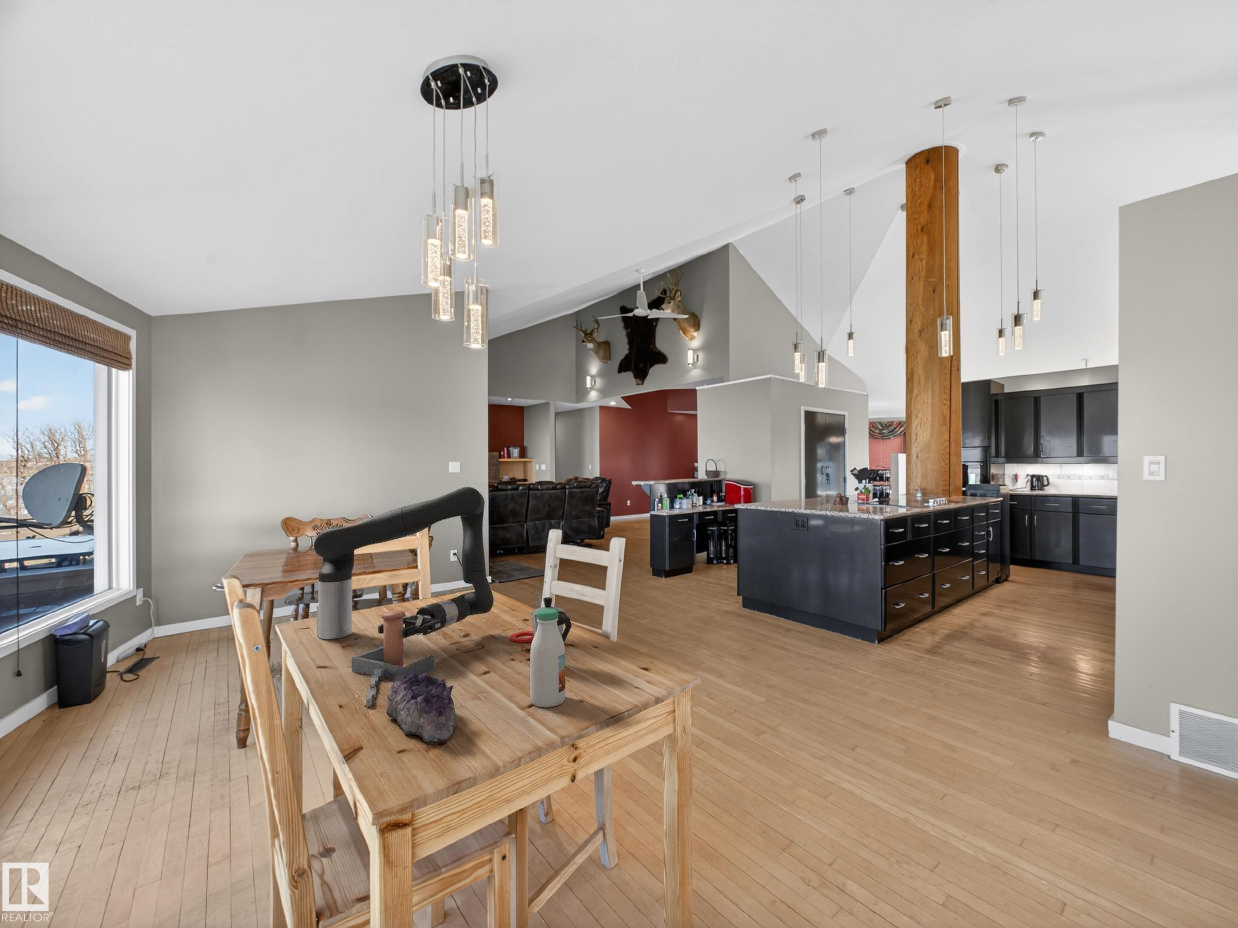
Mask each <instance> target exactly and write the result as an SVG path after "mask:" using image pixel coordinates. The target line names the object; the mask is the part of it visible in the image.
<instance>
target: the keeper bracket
mask: <svg viewBox="0 0 1238 928" xmlns="http://www.w3.org/2000/svg"><path fill="white" fill-rule="evenodd" d="M433 670H435V655H433V654H429V655H428V656H426V657H423V658H421V659H419V660H415V661H413V662H412V663H409V664H407V665H403V666H399V665H394V664H389V663H384V645H382V646H380V647H377V648H375V649H372V650H370V651H366V652H364V653H361V654H358V655H355V656H353V657H351V672H352V673H357V674H362V675H366V676H370V677H371V675H376V676H379V681H384V680H388V681H389V680H390V681H393V682H396V681H403V680H404V679H406V678H407V677H408V676H409V675H411V674H413V673H414V672H416V673H418V674H420V675H422V674H424V673H427V674H428V673H429V672H431V671H433Z"/></svg>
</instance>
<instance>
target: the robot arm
mask: <svg viewBox="0 0 1238 928" xmlns="http://www.w3.org/2000/svg"><path fill="white" fill-rule="evenodd" d="M485 505H486V503H485V498H484V496H483V494H482V493H481V492H480V491H479V490H478V489H476V488H475V487H472V486H464V487H461V488H458V489H455V490H453V491H451V492H448V493H446V494H444V495H441V496H438V497H436V498H431V499H428V500H423V501H420V502H416V503H413V504H408V505H404V506H400V507H398V508H394V509H391V510H389V511H388V510H387V511H386V512H383V513H381V514H378V515H375V516H373V517H370V518H369V519H366V520H363V521H361V522H358V523H355V524H352V525H351V524H350V525H348V526H347V525H346V526H334V527H331V528H329V529H325V530H323V531H322V532H320V533H319V534H318V535H317V536H316V538H315V540H314V542H313V550H314V552H315V554H316V555H318V556H319V557H321V558H322V564H321V567H320V569H319V572H318V574H317V575H318V603H317V604H316V636H317V637H318V638H319V639H322V640H335V639H341V638H345V637H348V636H350V635H351V634H352V633H353V578H352V577H353V569H354V565H355V551H356V550H359V549H361V548H364V547H368V546H370V545H376V544H381V543H387V542H391V541H395V540H399V539H402V538H405V537H409V536H413V535H416V534H417V533H420V532H422V531H425V530H426V529H428V528H430V527H431V526H433V525H435V524H436V523H438V522H441V521H443V520H447V519H451V518H456V517H460V521H461V525H462V526H461V527H462V549H461V566H462V567H461V568H462V580H463V582H464V583H465V584H467V585H472V587H473V589H474V591H469V592H468V591H467V592H465V593H462V594H460V595H457V596H456V597H452V598H449V599H446V600H439V601H436V602H433V603H429V604H427V605H423V606H421V607H420V608H418V610H417V611H416V613H413V614H410V615H408V616H407V614H406V613H405V616H404V617H403V625H404V626H403V630H402V637H403V639H406V638H410V637H412V636H415V635H416V636H419V635H421V634H422V635H423V636H427V635H430V634H432V633H434V632H438V631H440V630H442V629H445V628H447V627H450V626H451V625H453V624H456V623H458V622H461V621H463V620H465V619H467V617H469V616H476V615H483V614H487V613H489V612H491V610H492V608H493V606H494V601H495V599H494V594H493V592H492V588H491V585H490V582H489V580H488V577H487V571H486V570H487V568H486V557H485V548H484V547H485V546H484V532H483V531H484V530H483V529H484V528H483V527H484V512H485ZM377 627H378V628H377V632H378V634H380V635H382V634H384V623H381V624H379V625H378V626H377Z"/></svg>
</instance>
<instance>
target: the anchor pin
mask: <svg viewBox="0 0 1238 928" xmlns="http://www.w3.org/2000/svg"><path fill="white" fill-rule="evenodd" d="M405 614H406V611H405V610H401V609H398V610H395V609H394V610H387V611H384V612H381V614H380V615H381V617H380V618H381V619H383V624H384V633H383V646H384V661H383V662H384V663H389V664H394V665H399V666H404V638H403V637H402V630H403V627H404V624H403V617H404V616H405Z"/></svg>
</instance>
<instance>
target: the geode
mask: <svg viewBox="0 0 1238 928" xmlns="http://www.w3.org/2000/svg"><path fill="white" fill-rule="evenodd" d="M453 688H454V685H449V686H448V685H447V682H446V680H445V678H442V679H440V678H438V677H432V676H431V675H430V674H428V672H427V673H424V674H422V675H420V674H418V673H416V672H414V673H413V674H411V675H409V676H408V677H407V678H406V679H404V680H403V681H393V683H391V686H390V688H389V691H388V694H387V695H386V698H387V701H386V706H387V707H386V711H385V714H386V715H387V716H388V717H389V718H392V719H393V720H394V721H397V726H399V727H400V728H401V730H402V732H403V734H404V735H407V736H408V735H410V736H415V735H416V736H419V737H421V739H422V740H423V742H424V743H425V744H426V745H431V744H442V743H443V744H444V743H447V742H449V741H450V740H451V739H452V737H453V735H454V733H455V731H456V729H457V719H456V718H457V717H456V714H457V712H456V708H455V703H454V699H453V698H452V691H453Z"/></svg>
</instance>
